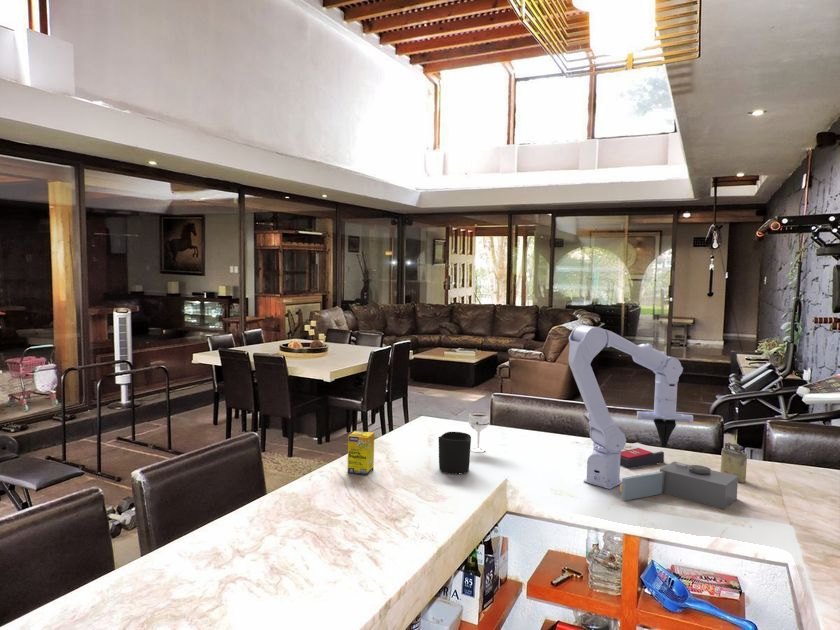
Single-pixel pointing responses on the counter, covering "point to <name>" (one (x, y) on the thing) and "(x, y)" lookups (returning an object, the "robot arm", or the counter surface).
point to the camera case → (700, 484)
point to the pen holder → (454, 452)
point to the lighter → (734, 461)
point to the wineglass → (478, 423)
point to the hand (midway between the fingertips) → (663, 446)
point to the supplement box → (360, 452)
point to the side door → (642, 485)
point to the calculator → (640, 455)
